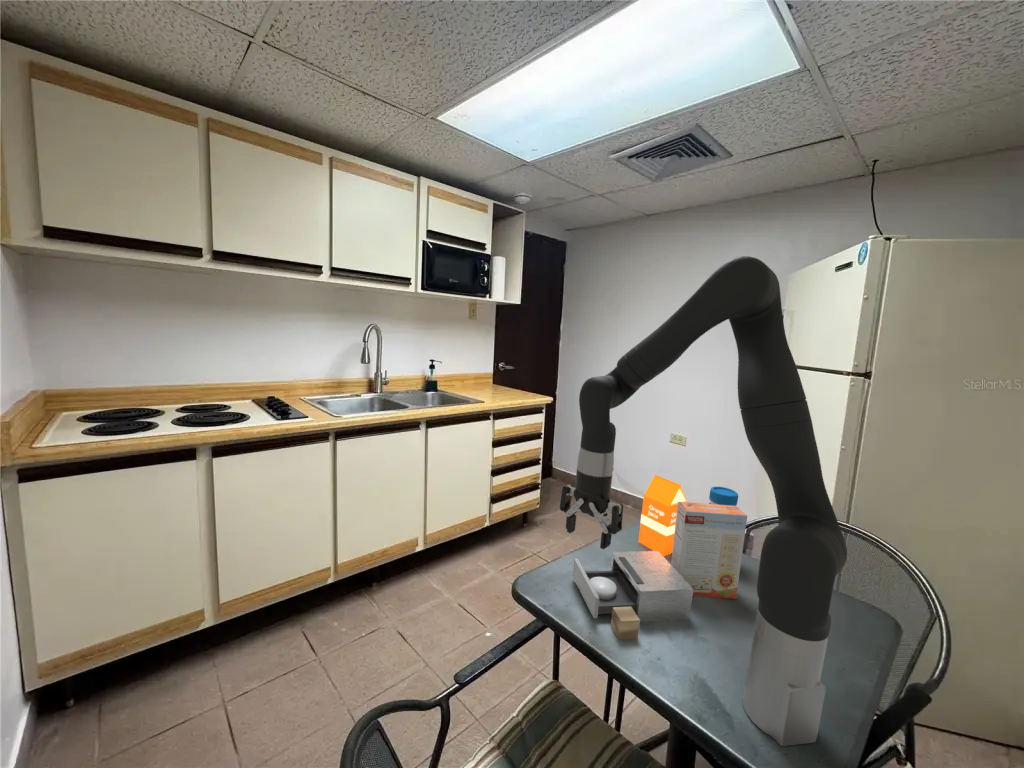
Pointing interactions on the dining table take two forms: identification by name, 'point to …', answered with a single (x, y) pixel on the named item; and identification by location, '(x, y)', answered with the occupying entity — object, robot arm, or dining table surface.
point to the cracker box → (709, 547)
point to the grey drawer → (596, 606)
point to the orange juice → (660, 515)
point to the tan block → (625, 623)
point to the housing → (655, 585)
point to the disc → (604, 587)
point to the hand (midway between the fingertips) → (586, 539)
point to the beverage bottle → (723, 496)
